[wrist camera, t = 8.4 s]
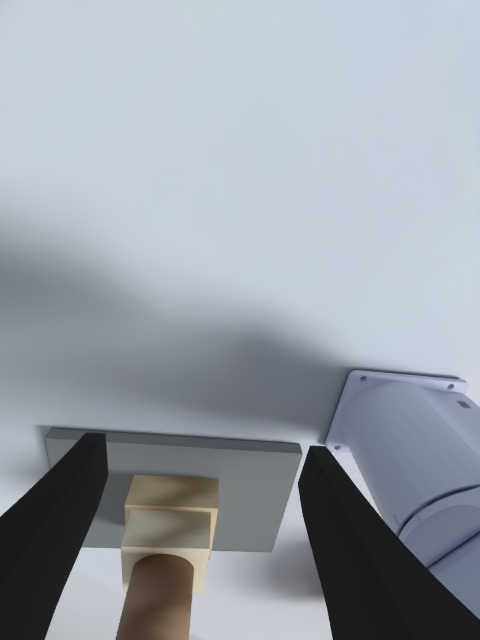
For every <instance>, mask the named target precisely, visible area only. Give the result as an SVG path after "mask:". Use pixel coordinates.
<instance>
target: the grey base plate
mask: <svg viewBox="0 0 480 640" xmlns="http://www.w3.org/2000/svg"><path fill="white" fill-rule="evenodd" d="M87 432H91V433H106V446H107V459H108V473H109V475H108V478H107V482H106V485H105V488H104V491H103V494H102V498H101V501H100V504H99V507H98V509H97V512H96V514H95V516H94V519H93V521H92V524H91V526H90V528H89V531H88V533H87V535H86V538H85V540H84V542H83V544H82V547H90V548H121V544H122V541H123V537H124V534H125V530H126V527H125V502H126V499H127V496H128V492H129V489H130V486H131V483H132V480H133V476H134V475H152V476H172V477H192V478H212V479H219V499H218V513H217V519H216V526H215V532H214V538H213V544H212V550H211V551H244V552H272V550H273V546H274V543H275V540H276V537H277V534H278V531H279V527H280V524H281V521H282V518H283V515H284V511H285V508H286V505H287V502H288V499H289V496H290V492H291V489H292V486H293V483H294V480H295V476H296V473H297V470H298V467H299V464H300V460H301V457H302V450H301V447H300V444H291V443H276V442H260V441H244V440H229V439H213V438H198V437H182V436H167V435H151V434H135V433H120V432H104V431H89V430H73V429H57V428H52V429H51V430H50V432H49V433H48V434H47V436H46V437H45V442H46V448H47V453H48V458H49V463H50V469H51V468H52V467H53V466H54V465H55V464H56V463H57V462H58V461H59V460H60V459H61V458H62V457H63V456H64V455H65V454H66V453H67V452H68V451H69V450H70V449H71V448H72V447H73V445H74V444H75V443H76V442H77V441H78V440H79V439H80V438H81V437H82V436H83V435H84V434H85V433H87Z"/></svg>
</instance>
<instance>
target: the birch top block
mask: <svg viewBox="0 0 480 640" xmlns="http://www.w3.org/2000/svg"><path fill="white" fill-rule="evenodd" d="M210 528H211V512H187V511H161V510H135V509H132V510H131V513H130V517H129V520H128V523H127V527H126V530H125V534H124V537H123V541H122V544H121V559H122V578H123V593H127V590H128V586H129V582H130V578H131V573H132V569H133V566H134V565H135V563H136V562H137V561H139V560H140V559H142V558H144V557H146V556H149V555H154V554H172V555H177V556H180V557H182V558H185V559H186V560H188V561H189V562H190V563H191V564H192V565H193V567H194V578H193V590H192V593H193V594H202V593H203V587H204V581H205V575H206V568H207V562H208V556H209V550H210Z"/></svg>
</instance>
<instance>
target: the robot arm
mask: <svg viewBox="0 0 480 640" xmlns="http://www.w3.org/2000/svg"><path fill="white" fill-rule="evenodd" d="M362 376H364V378H362V379H360V378H361V377H362ZM448 385H449V386H448ZM468 387H469V384H468V383H467V382H466V381H465V380H460V379H449V378H438V377H427V376H416V375H406V374H395V373H384V372H373V371H362V370H354V371H352V372H351V373H350V374H349V376H348V379H347V382H346V384H345V387H344V390H343V393H342V396H341V399H340V401H339V404H338V407H337V410H336V413H335V416H334V419H333V421H332V424H331V427H330V430H329V433H328V436H327V439H326V441H325V446H310V447H309V451H308V454H307V457H306V460H305V463H304V466H303V469H302V472H301V475H300V478H299V481H298V488H299V495H300V501H301V507H302V513H303V518H304V522H305V525H306V529H307V533H308V537H309V541H310V544H311V548H312V552H313V556H314V559H315V563H316V567H317V571H318V574H319V578H320V582H321V586H322V589H323V593H324V598H325V602H326V606H327V611H328V616H329V621H330V626H331V632H332V637H333V640H480V407H479V406H478V405H476V404H475V403H474V402H473V401H472V400H471V399H470V398H468V397H467V396H466V395H465V393H466V391H467V390H468ZM337 445H338V446H337ZM330 451H335V452H351V453H352V455H353V457H354V459H355V462H356V464H357V466H358V468H359V470H360V472H361V474H362V476H363V478H364V481H365V483H366V485H367V487H368V489H369V491H370V493H371V495H372V497H373V500H374V502H375V504H376V506H377V508H378V510H379V512H380V514H381V517H382V518H381V517H380V516H379V514H378V513H377V512H376V511H375V509H374V508H373V507H372V506H371V504H370V503H369V502H368V501H367V499H366V498H365V497H364V496H363V494H362V493H361V492H360V491H359V489H358V488H357V487H356V485H355V484H354V483H353V481H352V480H351V479H350V478H349V476H348V475H347V474H346V472H345V471H344V470H343V468H342V467H341V466H340V464H339V463H338V461H337V460H336V459H335V457H334V456H333V455H332V453H331V452H330ZM108 475H109V473H108V459H107V446H106V433H91V432H87V433H85V434H84V435H83V436H82V437H81V438H80V439H79V440H78V441H77V442H76V443H75V444H74V445H73V447H72V448H71V449H70V450H69V451H68V452H67V453H66V454H65V455H64V456H63V457H62V458H61V459H60V460H59V461H58V462H57V463H56V464H55V465H54V466H53V467H52V468H51V469H50V470H49V471H48V472H47V473H46V474H45V475H44V476H43V477H42V478H41V479H40V480H39V481H38V482H37V483H36V484H35V485H34V486H33V487H32V488H31V489H30V490H29V491H28V492H27V493H26V494H25V495H24V496H23V497H21V498H20V499H19V500H18V501H17V502H16V503H15V504H14V505H13V506H12V507H11V508H9V509H8V510H7V511H6V512H5V513H4V514H3V515H2V516H1V517H0V640H45V636H46V634H47V631H48V628H49V625H50V623H51V620H52V617H53V614H54V611H55V609H56V606H57V603H58V601H59V598H60V596H61V593H62V591H63V588H64V586H65V584H66V581H67V579H68V577H69V575H70V572H71V570H72V568H73V565H74V563H75V561H76V558H77V556H78V554H79V551H80V549H81V547H82V544H83V542H84V540H85V538H86V535H87V533H88V531H89V528H90V526H91V524H92V521H93V519H94V516H95V514H96V512H97V509H98V507H99V504H100V501H101V498H102V494H103V491H104V488H105V485H106V482H107V478H108Z"/></svg>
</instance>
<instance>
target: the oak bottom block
mask: <svg viewBox="0 0 480 640" xmlns="http://www.w3.org/2000/svg"><path fill="white" fill-rule="evenodd" d="M218 499H219V479H212V478H192V477H172V476H152V475H134V476H133V480H132V483H131V486H130V489H129V492H128V496H127V499H126V502H125V527H127V523H128V520H129V517H130V513H131V510H132V509H135V510H161V511H187V512H211V528H210V550H209V556H208V560H210V556H211V550H212V544H213V538H214V532H215V526H216V519H217V513H218Z"/></svg>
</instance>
